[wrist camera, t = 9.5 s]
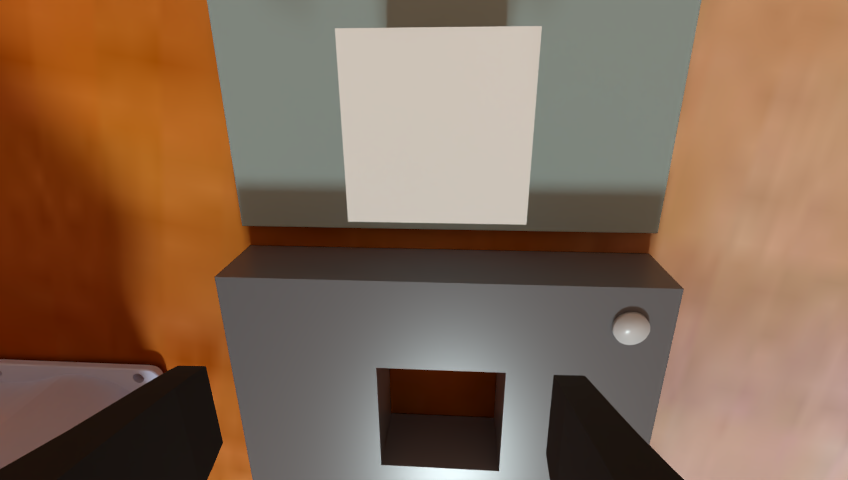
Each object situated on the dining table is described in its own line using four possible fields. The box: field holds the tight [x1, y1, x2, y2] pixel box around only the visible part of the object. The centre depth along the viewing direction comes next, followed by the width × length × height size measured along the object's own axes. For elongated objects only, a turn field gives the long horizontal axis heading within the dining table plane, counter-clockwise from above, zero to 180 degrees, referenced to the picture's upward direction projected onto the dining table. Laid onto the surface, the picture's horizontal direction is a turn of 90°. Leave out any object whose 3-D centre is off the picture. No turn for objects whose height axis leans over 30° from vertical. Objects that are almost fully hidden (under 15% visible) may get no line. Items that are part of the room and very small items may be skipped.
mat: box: [207, 0, 701, 233], centre depth 16 cm, size 16×10×1 cm, turn 90°
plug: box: [335, 26, 542, 225], centre depth 13 cm, size 4×4×7 cm
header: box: [215, 245, 683, 480], centre depth 19 cm, size 16×12×3 cm
